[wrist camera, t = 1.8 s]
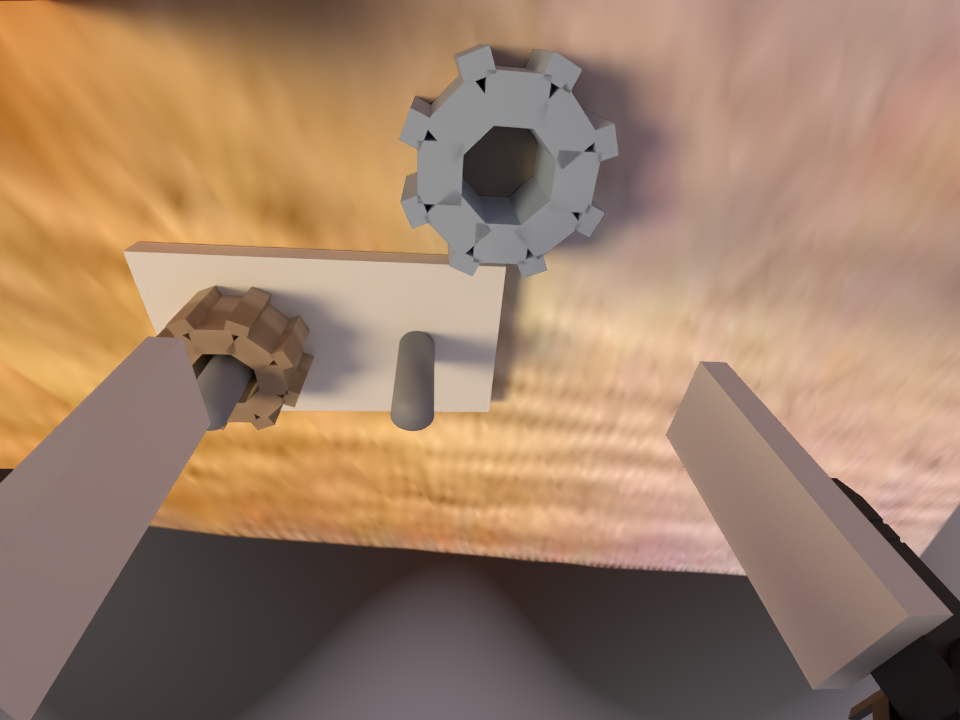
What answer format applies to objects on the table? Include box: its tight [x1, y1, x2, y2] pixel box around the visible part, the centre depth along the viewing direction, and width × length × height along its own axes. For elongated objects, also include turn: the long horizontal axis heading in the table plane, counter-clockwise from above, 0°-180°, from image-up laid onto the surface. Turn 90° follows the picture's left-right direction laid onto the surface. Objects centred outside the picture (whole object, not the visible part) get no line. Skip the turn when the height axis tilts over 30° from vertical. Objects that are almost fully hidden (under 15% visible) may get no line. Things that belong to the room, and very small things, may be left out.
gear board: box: [123, 242, 506, 431], centre depth 28 cm, size 12×22×8 cm, turn 86°
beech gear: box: [156, 286, 314, 430], centre depth 28 cm, size 8×8×4 cm
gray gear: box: [399, 44, 619, 278], centre depth 23 cm, size 10×10×5 cm
